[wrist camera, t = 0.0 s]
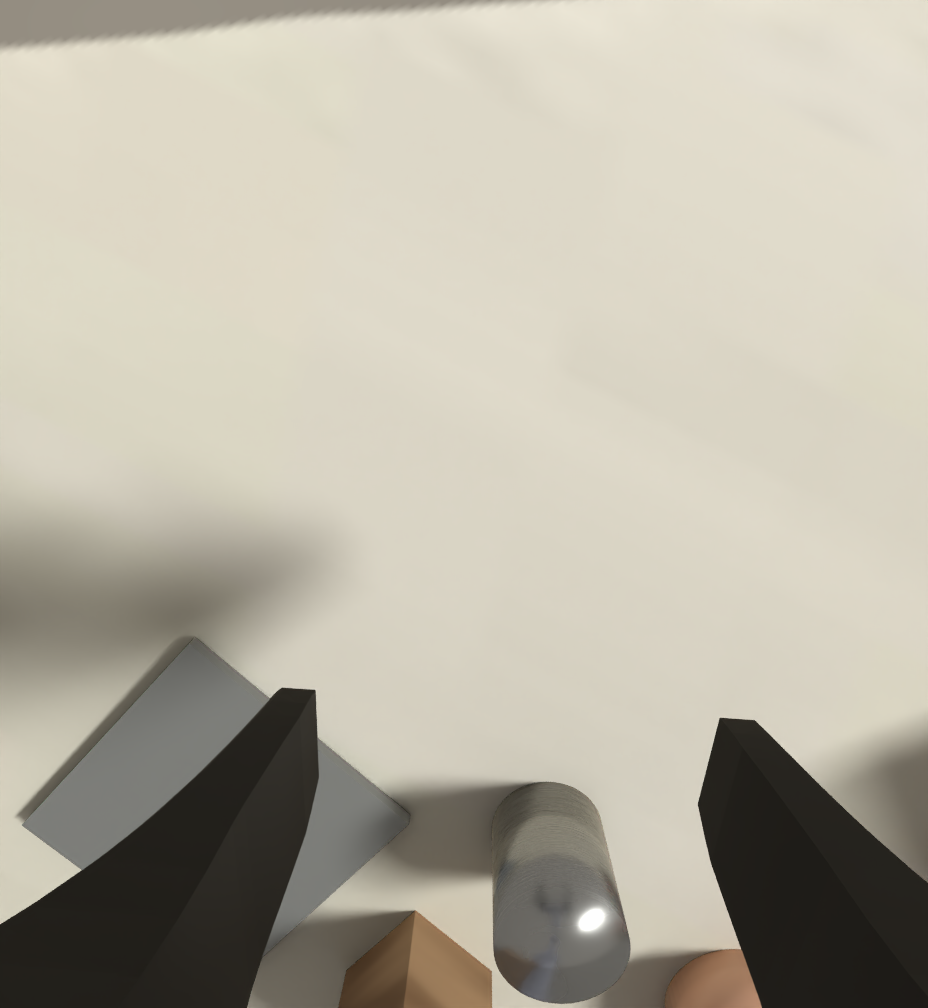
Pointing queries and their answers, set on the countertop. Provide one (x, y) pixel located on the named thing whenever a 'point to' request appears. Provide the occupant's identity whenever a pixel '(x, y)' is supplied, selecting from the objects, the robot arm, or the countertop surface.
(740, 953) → the peach dome knob
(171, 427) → the countertop surface
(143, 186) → the countertop surface
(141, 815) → the slate mat
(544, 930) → the shiny grey rounded piece
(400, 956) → the walnut block
